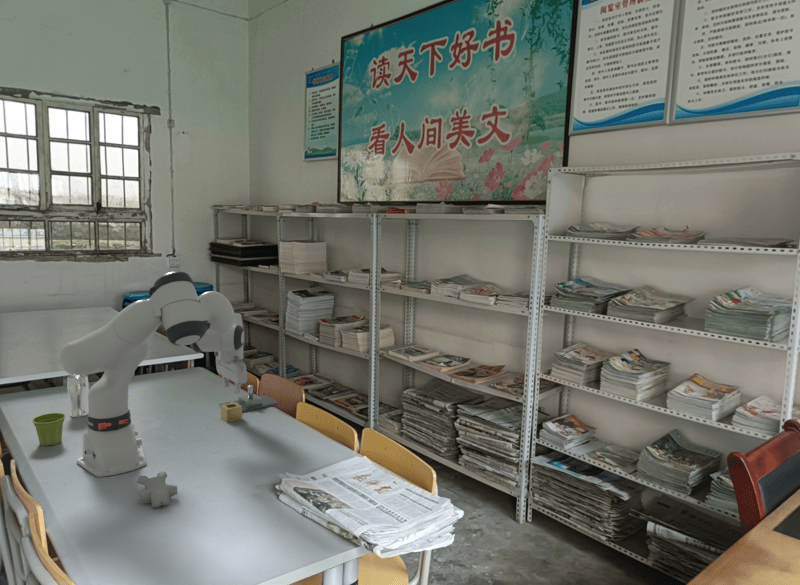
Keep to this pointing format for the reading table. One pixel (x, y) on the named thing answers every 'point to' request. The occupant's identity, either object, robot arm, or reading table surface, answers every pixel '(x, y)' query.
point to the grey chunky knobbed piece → (156, 490)
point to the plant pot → (49, 428)
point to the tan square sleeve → (231, 412)
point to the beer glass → (78, 394)
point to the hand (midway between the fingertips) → (231, 389)
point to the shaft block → (253, 401)
